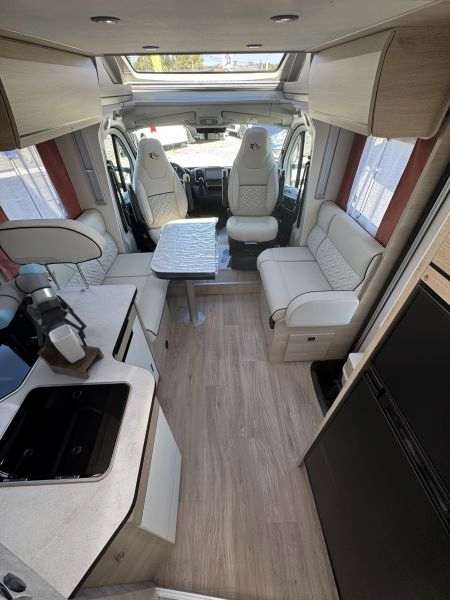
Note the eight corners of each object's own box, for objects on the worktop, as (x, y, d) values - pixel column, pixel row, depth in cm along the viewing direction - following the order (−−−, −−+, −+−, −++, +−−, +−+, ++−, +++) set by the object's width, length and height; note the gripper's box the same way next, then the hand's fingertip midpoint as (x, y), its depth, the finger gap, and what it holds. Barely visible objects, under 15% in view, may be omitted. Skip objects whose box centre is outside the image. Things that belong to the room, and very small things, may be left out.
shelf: (54, 373, 107) (37, 352, 98) (73, 350, 116) (58, 330, 106) (87, 379, 104) (72, 359, 95) (104, 356, 113) (92, 335, 103)
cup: (65, 355, 106) (47, 332, 96) (83, 346, 109) (67, 322, 99) (70, 367, 101) (52, 343, 92) (88, 356, 105) (73, 333, 95)
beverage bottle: (81, 327, 126) (58, 288, 110) (68, 348, 116) (40, 309, 100) (61, 327, 127) (35, 288, 110) (47, 348, 117) (15, 309, 100)
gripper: (78, 292, 107) (101, 339, 108) (17, 314, 98) (43, 366, 98) (75, 289, 100) (100, 339, 101) (10, 312, 91) (38, 368, 92)
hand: (72, 353), depth 100 cm, fingers open, 10 cm apart
